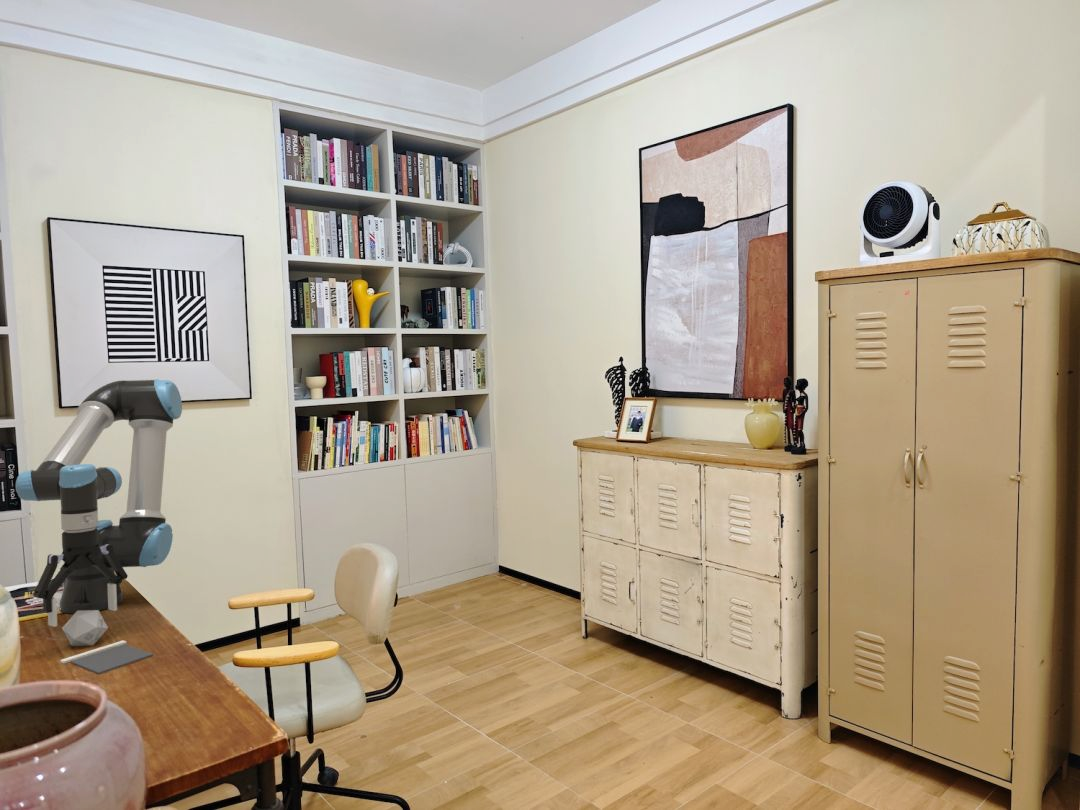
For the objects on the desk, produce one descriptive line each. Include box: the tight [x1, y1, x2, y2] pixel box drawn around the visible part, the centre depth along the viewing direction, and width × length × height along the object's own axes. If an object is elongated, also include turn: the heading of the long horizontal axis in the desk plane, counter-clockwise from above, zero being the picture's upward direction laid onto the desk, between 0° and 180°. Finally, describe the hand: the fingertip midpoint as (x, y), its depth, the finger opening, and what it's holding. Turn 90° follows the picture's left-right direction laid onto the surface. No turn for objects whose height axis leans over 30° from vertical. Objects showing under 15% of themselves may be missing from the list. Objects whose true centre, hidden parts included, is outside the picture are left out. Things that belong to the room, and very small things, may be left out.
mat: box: [59, 639, 154, 675], centre depth 171 cm, size 14×15×1 cm
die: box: [61, 610, 109, 647], centre depth 180 cm, size 8×9×10 cm
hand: (83, 617), depth 179 cm, fingers open, 13 cm apart
